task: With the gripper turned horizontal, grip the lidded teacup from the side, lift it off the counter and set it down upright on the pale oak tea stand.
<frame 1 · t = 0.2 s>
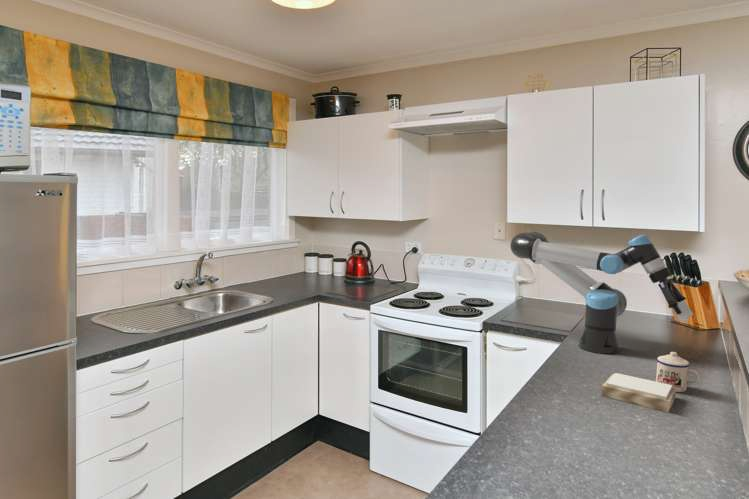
hand: (687, 318, 193), 15 cm above the worktop, tool tilted 35°, fingers open, 13 cm apart
oak tea stand: (638, 396, 152), on the worktop
teacup with lid: (675, 389, 160), on the worktop
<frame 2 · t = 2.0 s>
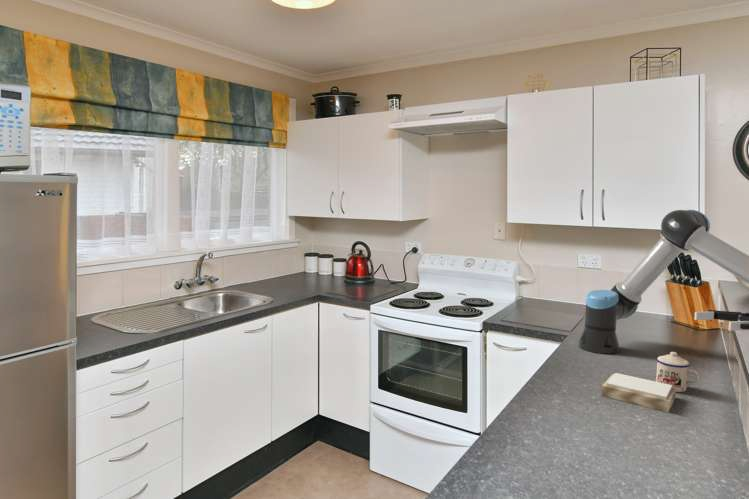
hand: (711, 320, 159), 22 cm above the worktop, tool horizontal, fingers open, 13 cm apart
nothing on the worktop moved.
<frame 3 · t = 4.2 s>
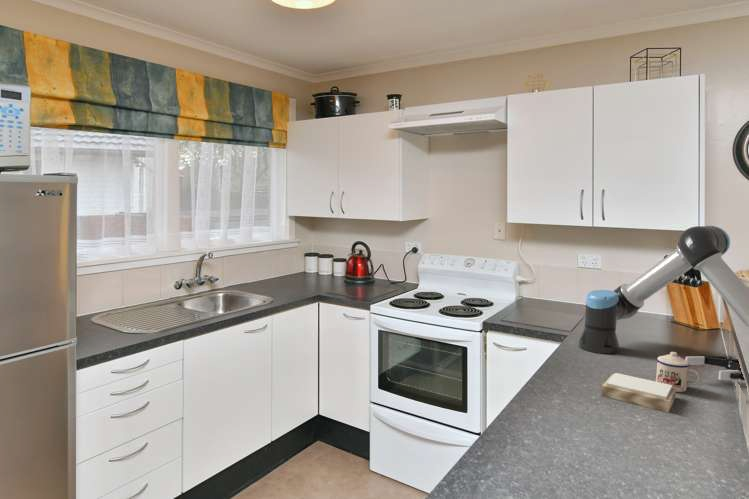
hand: (702, 367, 160), 7 cm above the worktop, tool horizontal, fingers open, 13 cm apart
nothing on the worktop moved.
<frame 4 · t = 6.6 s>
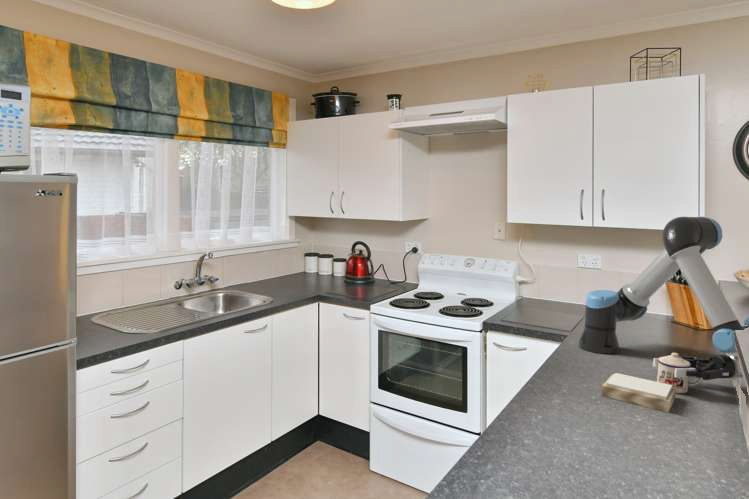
hand: (664, 367, 159), 7 cm above the worktop, tool horizontal, fingers closed on teacup with lid, 9 cm apart
teacup with lid: (676, 390, 159), on the worktop, touching gripper
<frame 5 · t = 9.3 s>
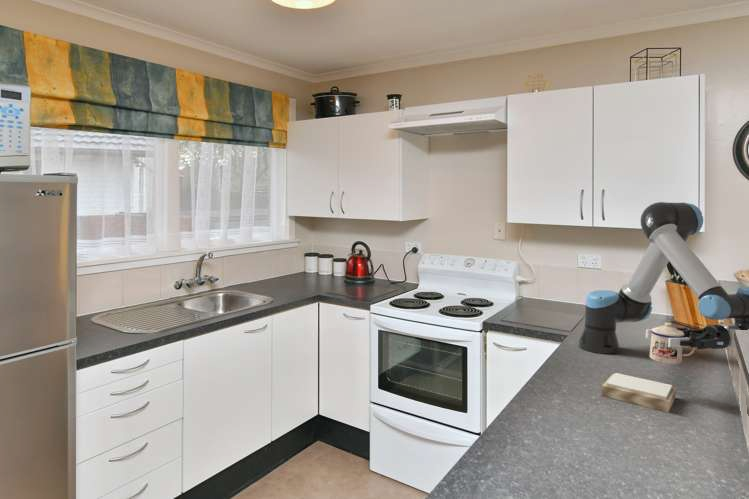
hand: (657, 338, 153), 18 cm above the worktop, tool horizontal, fingers closed on teacup with lid, 9 cm apart
teacup with lid: (670, 361, 154), point 11 cm above the worktop, touching gripper
when the fingers open (12 cm above the worktop, at t = 11.9 s): teacup with lid drops 1 cm, resting on oak tea stand.
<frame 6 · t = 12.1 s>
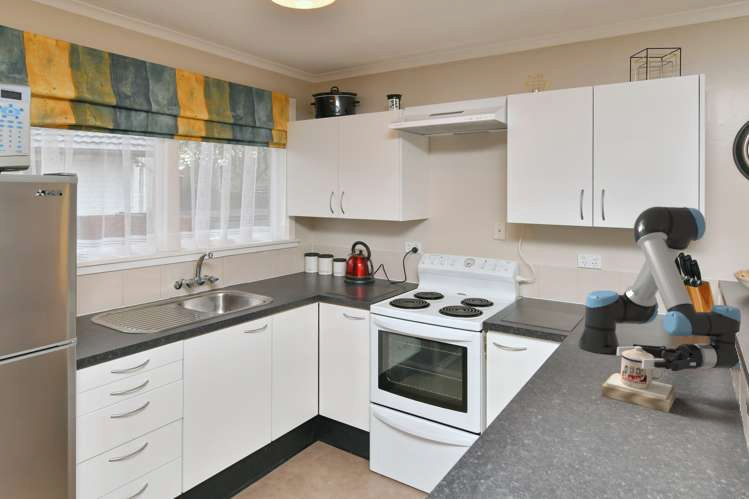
hand: (629, 357, 150), 12 cm above the worktop, tool horizontal, fingers open, 11 cm apart
teacup with lid: (641, 385, 151), point 4 cm above the worktop, touching oak tea stand
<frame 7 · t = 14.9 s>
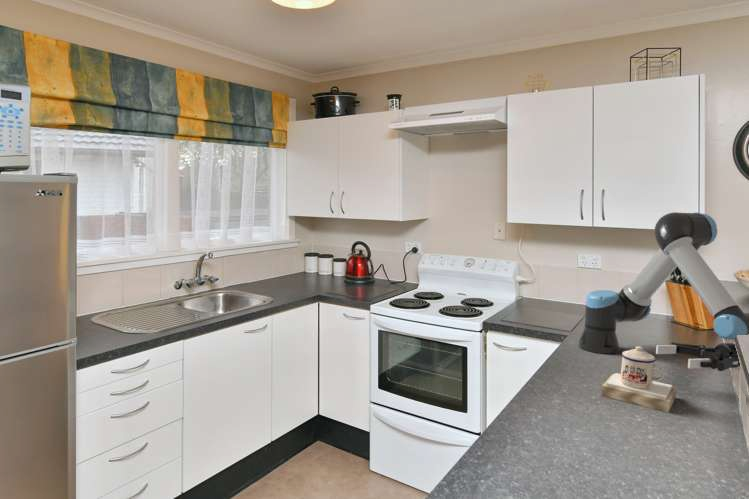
hand: (672, 356, 152), 13 cm above the worktop, tool horizontal, fingers open, 13 cm apart
nothing on the worktop moved.
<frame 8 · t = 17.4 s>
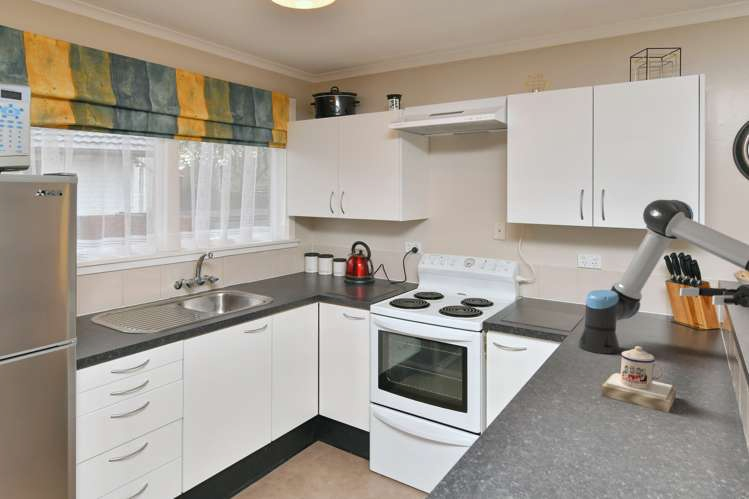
hand: (696, 295, 160), 30 cm above the worktop, tool horizontal, fingers open, 13 cm apart
nothing on the worktop moved.
at the end: teacup with lid inside the target area on the oak tea stand (1.0 cm from its centre), point 3.8 cm above the oak tea stand's base; teacup with lid tilted 0°; the gripper is holding nothing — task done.
